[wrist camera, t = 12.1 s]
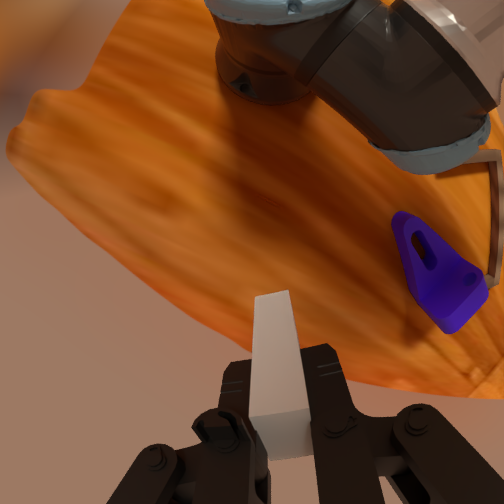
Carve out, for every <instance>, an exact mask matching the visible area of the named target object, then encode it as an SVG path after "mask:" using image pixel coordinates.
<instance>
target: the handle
mask: <svg viewBox="0 0 504 504" xmlns="http://www.w3.org/2000/svg"><path fill="white" fill-rule="evenodd" d="M487 161H488V162H489V171H490V184H491V207H492V225H491V248H490V261H489V270H488V274H486V275H484V279H485V282H486V285H487V288H488V289H490V288H492V287H494V286H496V285H498V284H499V280H500V273H501V265H502V255H503V243H504V178H503V166H502V157H501V150H497V149H486V150H479V151H478V152H477V153H476V154H475V155H474V156H473V157H471V158H470V159H469V160H467V161H466V162H464V163H463V164H468V163H477V162H487Z"/></svg>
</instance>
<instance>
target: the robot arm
mask: <svg viewBox="0 0 504 504" xmlns="http://www.w3.org/2000/svg"><path fill="white" fill-rule="evenodd" d="M204 2H205V4H206V6H207V8H209V11H210V12H211V15H212V17H213V20H214V22H215V25H216V27H217V30H218V33H219V35H220V39H219V41H218V44H217V47H216V53H215V59H216V65H217V69H218V71H219V73H220V75H221V77H222V79H223V81H224V82H225V84H226V85H227V86H228V87H229V88H230V89H231V90H232V91H233V92H234V93H236V94H237V95H239V96H240V97H242V98H244V99H246V100H248V101H251V102H254V103H258V104H264V105H280V104H286V103H290V102H293V101H296V100H298V99H300V98H302V97H303V96H305V95H306V94H308V93H309V92H310V91H311V92H313V93H314V94H315V95H317V96H318V97H319V98H320V99H322V100H323V101H324V102H325V103H327V104H328V105H329V106H330V107H332V108H333V109H334V110H335V111H336V112H338V113H339V114H340V115H341V116H342V117H344V118H345V119H346V120H347V121H348V122H349V123H350V124H352V125H353V126H354V127H355V128H356V129H357V130H358V131H359V132H360V133H361V134H363V135H364V136H365V137H366V138H367V139H368V142H369V143H370V144H371V145H372V146H373V147H374V148H375V149H377V150H379V151H381V152H382V153H383V154H384V155H385V156H386V157H388V158H389V159H390V160H391V161H392V162H393V163H394V164H395V165H396V166H397V167H399V168H400V169H402V170H404V171H408V172H410V173H413V174H418V175H429V174H436V173H441V172H444V171H447V170H450V169H452V168H455V167H457V166H459V165H461V164H463V163H464V162H466V161H467V160H469V159H470V158H471V157H473V156H474V155H475V154H476V153H477V152H478V151H479V148H478V146H479V145H483V144H485V142H486V141H487V139H488V137H489V134H490V129H491V123H490V117H489V114H488V112H490V111H491V110H493V109H494V108H496V107H497V106H499V105H500V100H501V99H500V98H501V83H502V80H503V78H504V0H395V1H394V2H393V3H392V4H391V5H390V6H387V5H385V4H384V3H383V2H381V1H380V0H204ZM191 428H192V429H193V430H194V432H195V433H196V434H197V436H198V437H199V439H200V440H201V441H202V442H201V443H199V444H197V445H194V446H191V447H187V448H183V449H179V450H174V449H173V448H172V447H169V446H168V445H166V444H154V445H150V446H148V447H146V448H144V449H143V450H142V451H141V452H140V453H139V455H138V456H137V457H136V459H135V461H134V462H133V464H132V465H131V467H130V468H129V470H128V471H127V473H126V474H125V476H124V477H123V479H122V481H121V482H120V484H119V485H118V487H117V488H116V490H115V491H114V493H113V494H112V496H111V497H110V499H109V500H108V502H107V503H106V504H271V475H270V471H269V469H268V460H267V458H268V457H269V459H270V461H273V460H281V459H289V458H296V457H302V456H308V455H314V459H315V468H316V476H317V485H318V494H319V503H320V504H385V501H384V497H383V493H382V489H381V485H380V481H379V477H378V476H385V477H386V479H387V480H388V482H389V483H390V485H391V486H392V488H393V489H394V491H395V492H396V493H397V495H398V497H399V498H400V500H401V501H402V503H403V504H504V480H503V479H502V478H501V477H500V476H499V474H497V472H496V471H495V470H494V469H493V468H492V467H491V466H490V465H489V464H488V462H487V461H486V460H485V459H484V458H483V457H482V456H481V455H480V454H479V453H478V452H477V451H476V450H475V449H474V448H473V446H471V445H470V443H468V441H467V440H466V439H465V438H464V437H463V436H462V435H461V434H460V433H459V432H458V431H457V430H456V429H455V428H454V427H453V426H452V425H451V423H450V422H449V421H448V420H447V419H446V418H445V417H444V416H443V415H442V414H441V413H440V412H439V411H438V410H437V409H435V408H433V407H432V406H431V405H427V404H422V403H421V404H413V405H411V406H408V407H406V408H404V409H403V410H402V411H400V412H399V413H398V414H397V416H394V417H370V416H367V415H364V414H363V413H361V412H359V411H358V410H357V409H356V408H355V406H354V404H353V402H352V399H351V395H350V392H349V389H348V386H347V383H346V380H345V377H344V374H343V372H342V368H341V365H340V363H339V359H338V356H337V353H336V351H335V350H334V349H333V348H332V347H331V346H330V345H329V344H327V343H325V344H321V345H317V346H312V347H308V348H303V349H300V345H299V339H298V334H297V329H296V325H295V320H294V315H293V310H292V305H291V301H290V296H289V291H288V290H285V291H281V292H276V293H271V294H266V295H262V296H257V297H255V308H254V328H253V347H252V359H249V360H242V361H235V362H231V363H230V364H229V365H228V367H227V368H226V370H225V371H224V374H223V380H222V386H221V394H220V398H219V404H218V408H214V409H210V410H208V411H206V412H204V413H202V414H201V415H200V416H199V417H198V418H196V419H195V421H194V423H193V425H192V427H191Z"/></svg>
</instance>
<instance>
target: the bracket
mask: <svg viewBox="0 0 504 504" xmlns="http://www.w3.org/2000/svg"><path fill="white" fill-rule="evenodd" d="M391 225H392V229H393V232H394V235H395V238H396V242H397V245H398V249H399V252H400V256H401V259H402V263H403V267H404V271H405V275H406V279H407V283H408V287H409V290H410V292H411V294H412V295H413V297H414V298H415V300H416V302H417V303H418V305H419V306H420V307H421V308H422V309H423V310H424V311H425V312H426V313H427V314H428V316H429V317H430V318H431V319H432V320H433V321H434V322H435V323H436V324H437V326H438V327H439V328H440V329H441V330H442V331H443V332H444V333H446V334H452V333H455V332H456V331H458V330H459V329H460V328H461V327H462V326H463V325H464V324H465V323H466V322H467V321H468V320H469V319H470V318H471V317H472V316H473V315H474V314H475V312H476V311H477V310H478V309H479V308H480V307H481V306H482V305H483V304H484V303H485V301H486V300H487V298H488V294H489V292H488V288H487V285H486V282H485V279H484V276H483V273H482V271H481V270H480V269H479V268H477V267H476V266H474V265H473V264H471V263H469V262H468V261H466V260H465V259H463V258H462V257H461V256H460V255H459V254H458V253H457V252H456V251H455V250H454V249H452V248H451V247H450V246H449V245H448V244H447V243H446V242H445V241H444V240H443V239H442V238H441V237H440V236H439V235H438V234H437V233H436V232H434V231H433V230H432V229H431V228H430V227H429V226H428V225H427V224H425V223H424V222H423V221H422V220H421V219H420V218H418V217H416V216H414V215H411V214H409V213H407V212H404V211H399V212H397V213H396V214H395V215H394V216H393V218H392V222H391ZM413 233H415V235H416V237H417V238H418V240H419V242H420V243H421V245H422V247H423V248H424V250H425V256H424V258H423V260H421V258H420V257H419V255H418V253H417V252H416V250H415V248H414V247H413V245H412V243H411V236H412V234H413Z"/></svg>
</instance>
